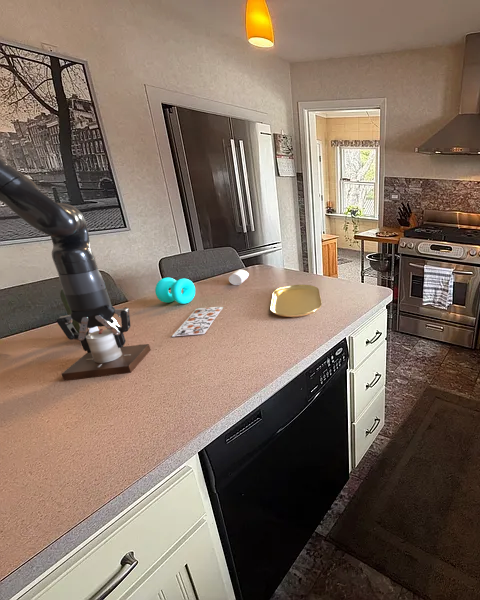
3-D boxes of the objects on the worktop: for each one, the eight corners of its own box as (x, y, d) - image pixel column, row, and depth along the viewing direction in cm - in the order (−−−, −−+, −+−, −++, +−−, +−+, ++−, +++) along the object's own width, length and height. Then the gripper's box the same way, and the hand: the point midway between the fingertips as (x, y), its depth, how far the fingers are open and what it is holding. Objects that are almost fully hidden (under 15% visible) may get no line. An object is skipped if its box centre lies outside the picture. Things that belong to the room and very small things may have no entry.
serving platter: (317, 286, 149) (317, 283, 149) (324, 315, 118) (323, 311, 117) (274, 289, 144) (274, 286, 143) (269, 321, 113) (268, 317, 112)
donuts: (180, 308, 123) (173, 283, 120) (157, 306, 125) (150, 281, 121) (199, 299, 132) (194, 275, 129) (177, 297, 134) (171, 274, 130)
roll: (252, 277, 161) (250, 266, 159) (242, 285, 149) (240, 273, 147) (240, 277, 160) (238, 266, 158) (229, 285, 149) (227, 273, 147)
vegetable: (72, 338, 100) (48, 275, 93) (88, 332, 104) (66, 271, 97) (83, 339, 99) (59, 277, 92) (98, 333, 103) (77, 273, 96)
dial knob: (121, 359, 85) (112, 334, 83) (92, 365, 82) (83, 339, 80) (123, 350, 90) (115, 326, 87) (96, 355, 87) (87, 331, 84)
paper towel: (196, 308, 123) (223, 306, 125) (196, 308, 123) (223, 306, 125) (171, 336, 101) (204, 333, 103) (171, 337, 101) (204, 334, 103)
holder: (64, 380, 79) (60, 373, 79) (92, 356, 90) (90, 349, 90) (131, 372, 83) (128, 365, 82) (150, 349, 94) (148, 343, 93)
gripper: (37, 297, 73) (64, 361, 79) (116, 289, 79) (136, 349, 85) (53, 287, 80) (76, 348, 86) (125, 280, 85) (143, 337, 92)
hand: (106, 348), depth 85 cm, fingers closed on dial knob, 5 cm apart
